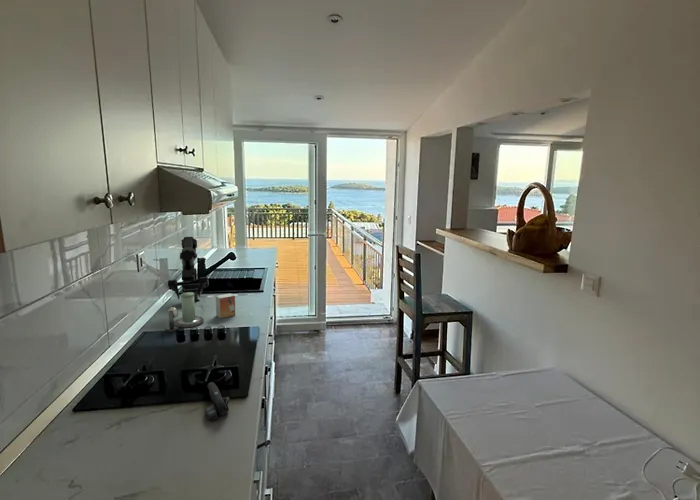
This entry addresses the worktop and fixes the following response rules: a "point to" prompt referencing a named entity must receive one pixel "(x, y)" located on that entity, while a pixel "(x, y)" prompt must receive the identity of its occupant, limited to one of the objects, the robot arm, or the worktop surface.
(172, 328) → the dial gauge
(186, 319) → the canister
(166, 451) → the worktop surface
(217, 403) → the can opener
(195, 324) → the platter
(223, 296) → the small box
